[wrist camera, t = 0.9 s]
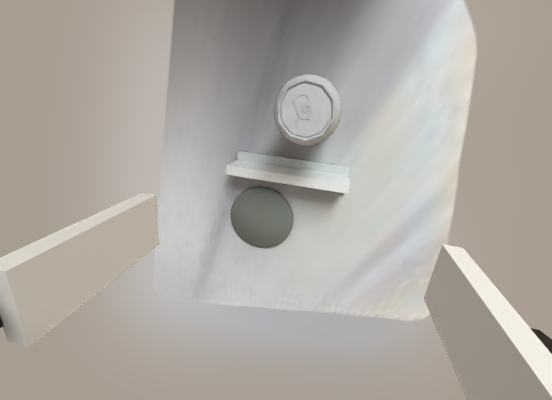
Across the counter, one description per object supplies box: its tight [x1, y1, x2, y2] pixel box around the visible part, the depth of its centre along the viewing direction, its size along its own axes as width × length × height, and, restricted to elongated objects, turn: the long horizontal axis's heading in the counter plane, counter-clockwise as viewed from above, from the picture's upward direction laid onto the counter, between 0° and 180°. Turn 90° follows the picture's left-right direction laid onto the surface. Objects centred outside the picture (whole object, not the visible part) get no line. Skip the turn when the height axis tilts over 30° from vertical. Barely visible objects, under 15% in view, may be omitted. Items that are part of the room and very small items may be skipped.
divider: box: [226, 151, 350, 194], centre depth 31 cm, size 3×13×4 cm, turn 84°
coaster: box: [231, 187, 293, 248], centre depth 35 cm, size 8×8×1 cm
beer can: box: [274, 74, 341, 145], centre depth 24 cm, size 5×5×12 cm
